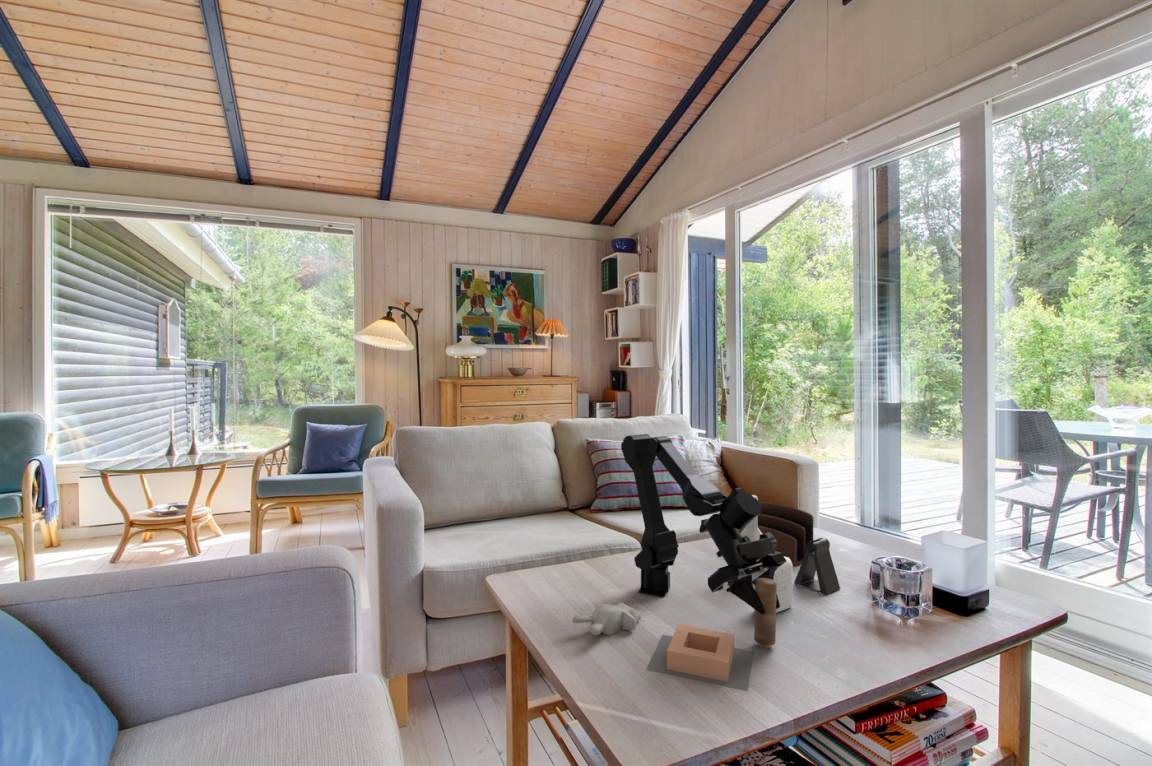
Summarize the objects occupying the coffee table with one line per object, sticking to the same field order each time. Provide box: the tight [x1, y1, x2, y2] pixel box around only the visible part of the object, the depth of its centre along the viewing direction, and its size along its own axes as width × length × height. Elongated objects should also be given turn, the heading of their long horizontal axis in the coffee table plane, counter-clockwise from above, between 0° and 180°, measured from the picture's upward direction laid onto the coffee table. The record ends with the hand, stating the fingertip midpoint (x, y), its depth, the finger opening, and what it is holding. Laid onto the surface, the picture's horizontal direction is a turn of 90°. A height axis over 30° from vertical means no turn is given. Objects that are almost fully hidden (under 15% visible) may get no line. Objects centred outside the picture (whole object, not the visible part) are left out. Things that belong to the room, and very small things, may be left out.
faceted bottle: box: [740, 494, 762, 581], centre depth 146 cm, size 6×6×22 cm
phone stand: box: [793, 537, 841, 596], centre depth 142 cm, size 9×6×12 cm, turn 35°
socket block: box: [667, 624, 735, 682], centre depth 106 cm, size 11×11×4 cm
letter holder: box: [738, 501, 814, 567], centre depth 166 cm, size 10×20×14 cm, turn 39°
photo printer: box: [753, 556, 794, 614], centre depth 128 cm, size 10×4×12 cm, turn 123°
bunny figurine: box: [571, 602, 642, 636], centre depth 118 cm, size 10×5×15 cm
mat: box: [646, 634, 754, 692], centre depth 106 cm, size 18×14×1 cm
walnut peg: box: [753, 578, 777, 647], centre depth 111 cm, size 4×4×12 cm
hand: (771, 610), depth 110 cm, fingers closed on walnut peg, 4 cm apart
